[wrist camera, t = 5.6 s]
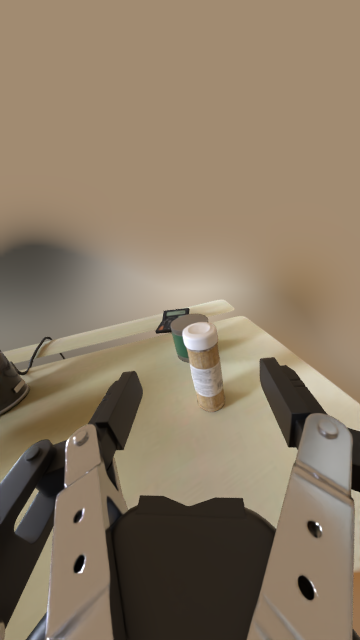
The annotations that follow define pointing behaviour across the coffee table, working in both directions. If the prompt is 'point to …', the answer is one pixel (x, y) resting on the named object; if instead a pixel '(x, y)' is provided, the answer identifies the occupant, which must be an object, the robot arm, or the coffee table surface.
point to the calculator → (170, 319)
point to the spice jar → (205, 364)
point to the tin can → (177, 331)
